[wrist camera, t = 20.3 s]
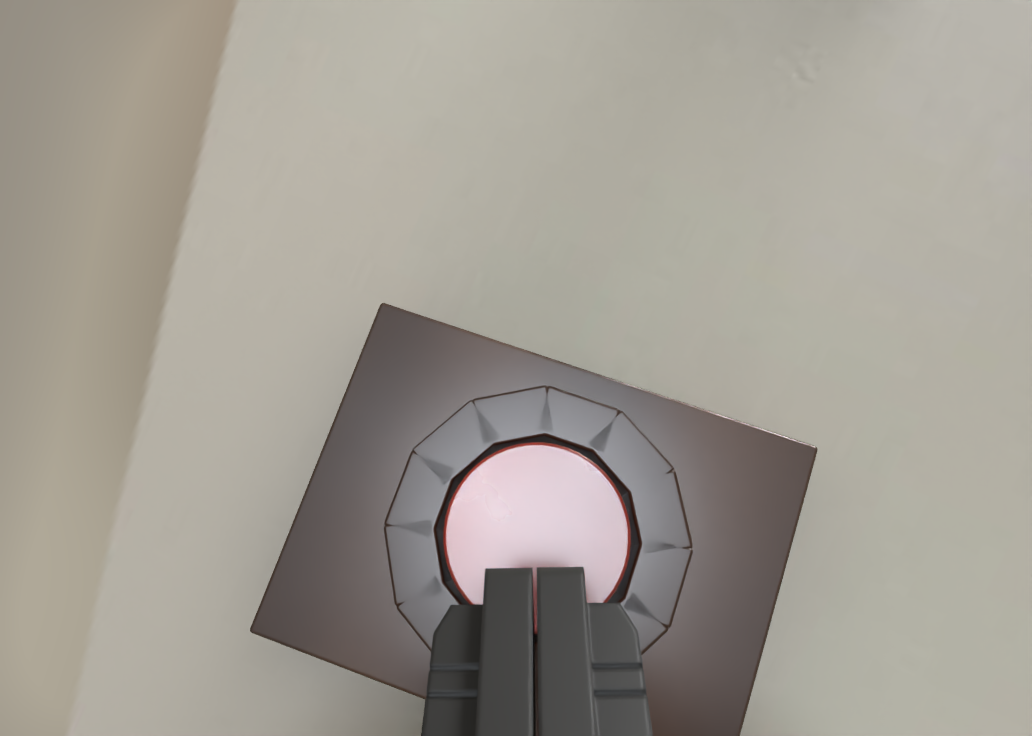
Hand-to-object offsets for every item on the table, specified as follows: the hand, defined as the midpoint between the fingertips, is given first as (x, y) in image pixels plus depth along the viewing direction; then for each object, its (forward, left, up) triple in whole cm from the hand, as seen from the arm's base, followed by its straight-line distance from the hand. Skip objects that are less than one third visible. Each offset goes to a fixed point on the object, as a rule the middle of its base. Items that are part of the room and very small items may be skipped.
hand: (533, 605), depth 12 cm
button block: (0, +1, -10) cm, 10 cm away
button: (0, +1, -6) cm, 6 cm away
